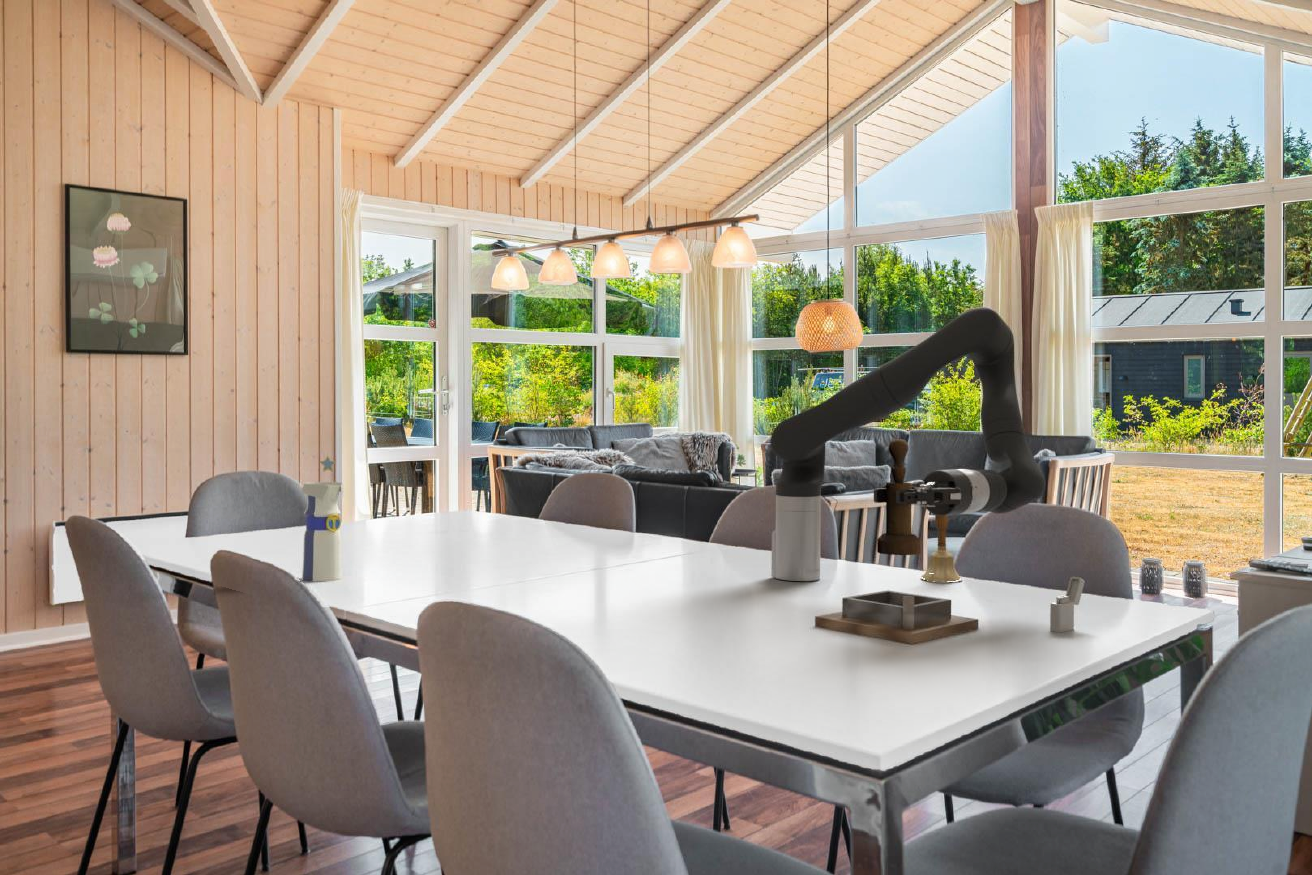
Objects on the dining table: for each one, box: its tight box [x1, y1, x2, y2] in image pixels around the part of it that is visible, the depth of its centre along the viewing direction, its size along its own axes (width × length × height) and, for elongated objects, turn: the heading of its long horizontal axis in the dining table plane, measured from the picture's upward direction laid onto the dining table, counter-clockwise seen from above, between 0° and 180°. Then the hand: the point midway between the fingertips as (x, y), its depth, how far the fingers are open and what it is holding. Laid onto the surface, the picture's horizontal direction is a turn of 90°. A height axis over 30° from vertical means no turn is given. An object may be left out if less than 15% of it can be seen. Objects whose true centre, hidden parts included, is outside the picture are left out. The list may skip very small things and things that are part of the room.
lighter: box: [1049, 576, 1086, 633], centre depth 164 cm, size 7×2×8 cm, turn 128°
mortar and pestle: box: [876, 438, 922, 556], centre depth 164 cm, size 7×6×18 cm
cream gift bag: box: [301, 455, 344, 582], centre depth 211 cm, size 8×9×25 cm
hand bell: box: [921, 515, 962, 582], centre depth 215 cm, size 8×8×16 cm
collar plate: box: [814, 590, 979, 645], centre depth 164 cm, size 18×18×6 cm
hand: (886, 496), depth 162 cm, fingers closed on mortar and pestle, 4 cm apart
